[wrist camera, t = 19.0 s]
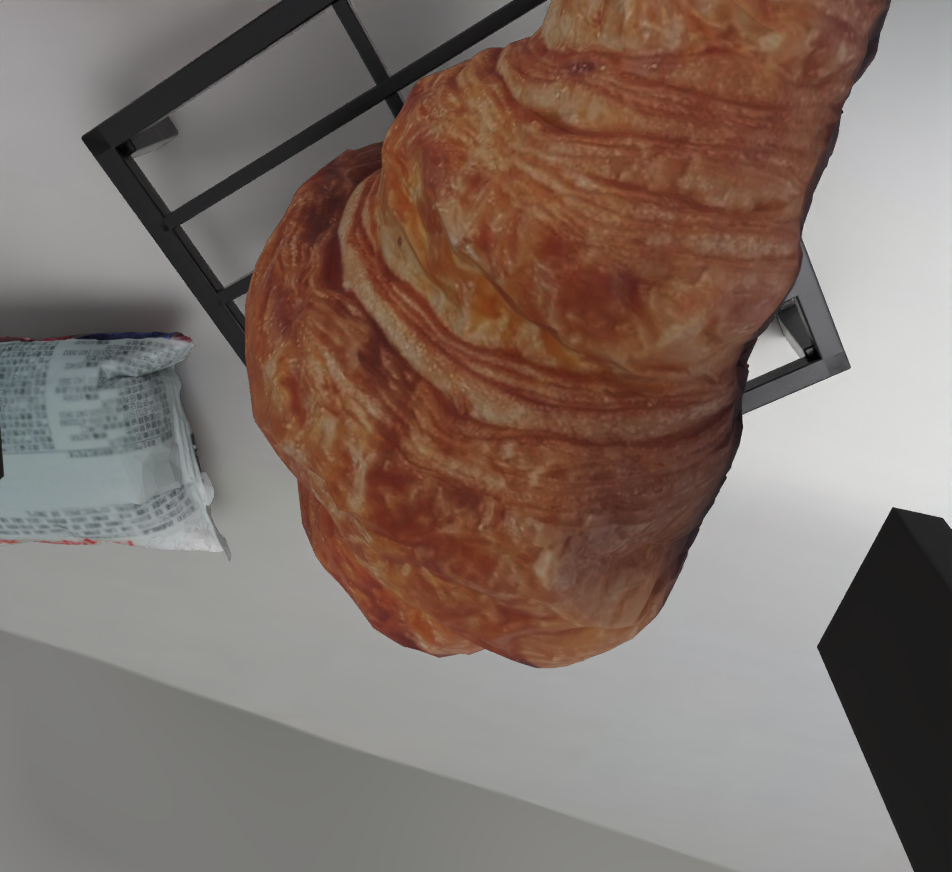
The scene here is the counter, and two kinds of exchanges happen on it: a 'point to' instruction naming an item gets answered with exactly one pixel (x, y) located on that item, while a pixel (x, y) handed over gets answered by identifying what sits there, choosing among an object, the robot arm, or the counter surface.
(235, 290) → the rack
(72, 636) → the counter surface
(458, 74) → the pastry
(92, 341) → the packaged food
